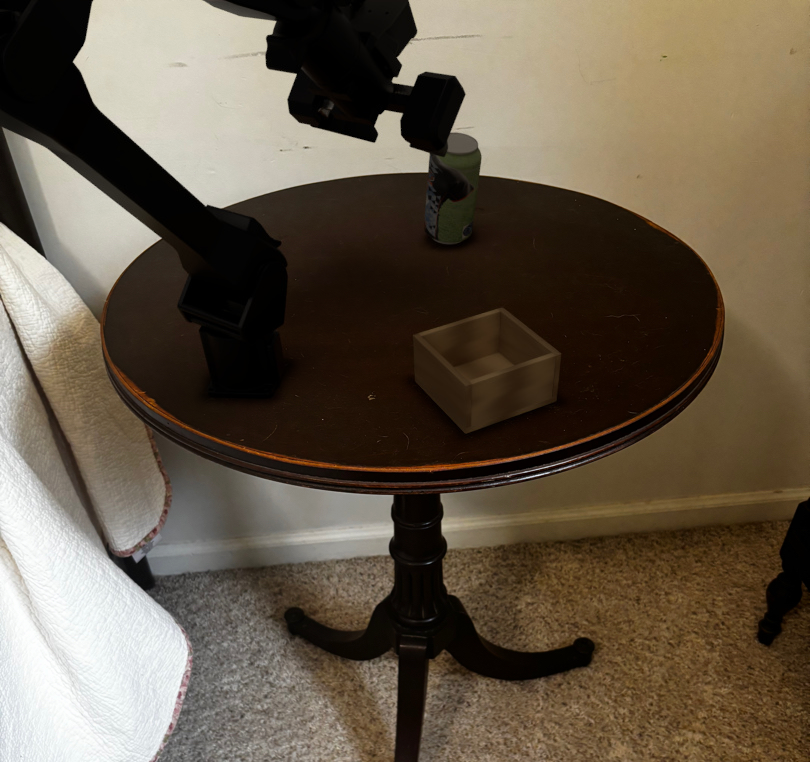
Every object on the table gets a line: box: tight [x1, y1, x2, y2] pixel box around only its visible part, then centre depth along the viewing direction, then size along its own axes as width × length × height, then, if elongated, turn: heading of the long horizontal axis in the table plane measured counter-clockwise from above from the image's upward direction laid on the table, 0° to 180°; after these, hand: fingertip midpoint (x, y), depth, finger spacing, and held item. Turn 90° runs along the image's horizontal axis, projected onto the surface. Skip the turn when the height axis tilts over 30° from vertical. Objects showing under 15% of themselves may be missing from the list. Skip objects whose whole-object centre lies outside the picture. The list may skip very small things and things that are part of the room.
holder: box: [412, 307, 562, 435], centre depth 74 cm, size 10×10×5 cm
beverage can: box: [423, 132, 482, 245], centre depth 95 cm, size 6×7×12 cm
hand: (409, 145), depth 86 cm, fingers open, 9 cm apart
